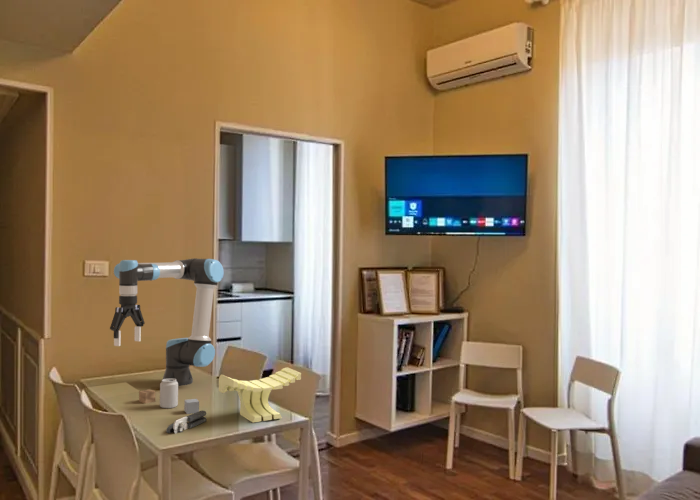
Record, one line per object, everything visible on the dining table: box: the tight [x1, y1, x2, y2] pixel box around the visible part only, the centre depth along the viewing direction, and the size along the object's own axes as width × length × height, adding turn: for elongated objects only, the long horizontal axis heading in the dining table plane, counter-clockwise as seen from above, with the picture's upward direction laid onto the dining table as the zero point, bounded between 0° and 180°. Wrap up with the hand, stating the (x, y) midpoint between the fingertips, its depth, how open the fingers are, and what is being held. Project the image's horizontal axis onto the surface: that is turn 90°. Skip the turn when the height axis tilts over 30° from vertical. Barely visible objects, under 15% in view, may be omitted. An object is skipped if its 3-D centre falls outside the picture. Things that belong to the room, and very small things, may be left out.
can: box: [159, 378, 179, 409], centre depth 261 cm, size 8×8×12 cm
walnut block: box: [138, 389, 157, 404], centre depth 268 cm, size 5×5×5 cm
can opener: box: [165, 410, 207, 435], centre depth 234 cm, size 19×6×5 cm, turn 155°
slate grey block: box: [183, 398, 200, 415], centre depth 254 cm, size 5×5×5 cm
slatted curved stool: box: [218, 366, 302, 423], centre depth 251 cm, size 30×16×18 cm, turn 123°
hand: (127, 343), depth 264 cm, fingers open, 13 cm apart
